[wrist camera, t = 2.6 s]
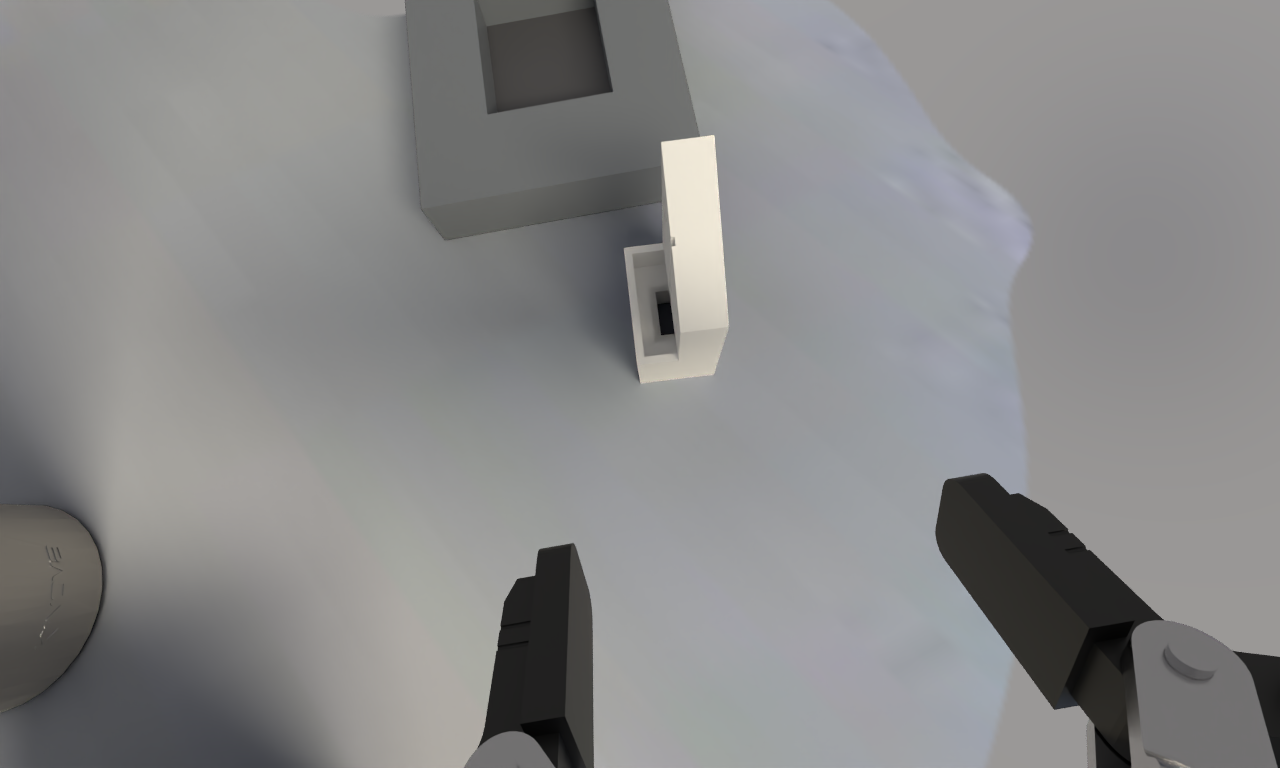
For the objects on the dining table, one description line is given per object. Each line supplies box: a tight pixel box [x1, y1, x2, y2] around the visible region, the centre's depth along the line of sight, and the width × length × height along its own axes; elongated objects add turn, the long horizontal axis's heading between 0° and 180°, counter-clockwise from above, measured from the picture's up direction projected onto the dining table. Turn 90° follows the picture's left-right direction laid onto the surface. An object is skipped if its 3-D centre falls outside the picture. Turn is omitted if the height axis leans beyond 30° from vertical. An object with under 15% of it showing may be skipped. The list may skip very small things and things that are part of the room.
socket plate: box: [405, 0, 700, 240], centre depth 30 cm, size 14×18×3 cm
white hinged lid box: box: [624, 135, 729, 383], centre depth 24 cm, size 4×10×9 cm, turn 6°
